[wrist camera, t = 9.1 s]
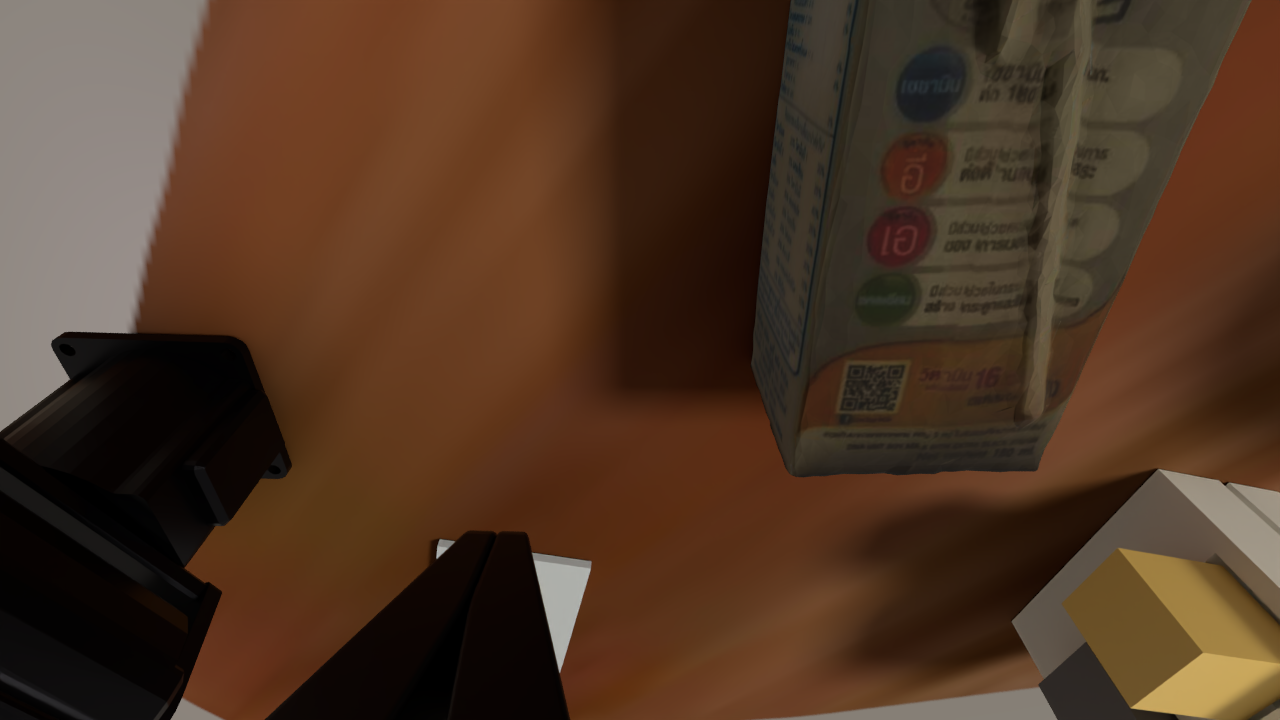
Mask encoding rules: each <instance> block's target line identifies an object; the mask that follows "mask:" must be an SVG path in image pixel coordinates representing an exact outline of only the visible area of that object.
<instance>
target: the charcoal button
mask: <svg viewBox="0 0 1280 720" xmlns="http://www.w3.org/2000/svg"><path fill="white" fill-rule="evenodd" d="M1038 685H1039V687H1040V689H1041V690H1042V692H1043V694H1044V696H1045V698H1046V699H1047V701H1048V703H1049V705H1050V707H1051V708H1052V710H1053V712H1054V714H1055V716H1056V717H1057V719H1058V720H1179V719H1178V718H1177V717H1176V715H1175V714H1171V713H1163V712H1156V711H1148V710H1140V709H1133V708H1130V707H1129V705H1128V704H1127V702H1126V701H1125V699H1124V698H1123V696H1122V695H1121V693H1120V692H1119V690H1118V689H1117V687H1116V686H1115V684H1114V683H1113V681H1112V680H1111V678H1110V677H1109V675H1108V674H1107V672H1106V671H1105V669H1104V667H1103V666H1102V664H1101V663H1100V661H1099V660H1098V658H1097V657H1096V655H1095V654H1094V652H1093V651H1092V649H1091V648H1090V646H1089V645H1088V643H1087V642H1085V643H1084V644H1083V645H1082V646H1081V647H1079V648H1078V649H1077V650H1076V651H1075V652H1074V653H1073V654H1072V655H1071V656H1069V657H1068V658H1067V659H1066V660H1065V661H1064V662H1063V663H1062V664H1061V665H1059V666H1058V667H1057V668H1056V669H1055V670H1054V671H1053V672H1052V673H1051V674H1049V675H1048V676H1047V677H1046V678H1045V679H1044V680H1043V681H1042V682H1041V683H1039V684H1038Z"/></svg>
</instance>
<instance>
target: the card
mask: <svg viewBox="0 0 1280 720" xmlns="http://www.w3.org/2000/svg"><path fill="white" fill-rule="evenodd" d="M454 542H455V541H449V540H442V539H440V540H439V543H438V546H437V557H436V559H437V558H438V557H439V556H440V555H441V554H443V553H444V552H445V551H446V550H447V549H448V548H449V547H450V546H451V545H452V544H453V543H454ZM532 554H533V559H534V563H535V568H536V572H537V576H538V581H539V585H540V589H541V594H542V598H543V603H544V607H545V611H546V616H547V620H548V625H549V629H550V633H551V638H552V642H553V646H554V651H555V655H556V660H557V664H558V668H559V673H560V671H561V667H562V664H563V661H564V657H565V654H566V651H567V647H568V644H569V640H570V637H571V634H572V630H573V627H574V624H575V620H576V617H577V614H578V610H579V607H580V603H581V600H582V597H583V593H584V590H585V587H586V583H587V580H588V577H589V573H590V570H591V561H585V560H578V559H571V558H565V557H558V556H551V555H544V554H537V553H532Z"/></svg>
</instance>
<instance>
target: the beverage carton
mask: <svg viewBox="0 0 1280 720" xmlns="http://www.w3.org/2000/svg"><path fill="white" fill-rule="evenodd" d="M1250 2H1251V0H791V3H790V11H789V20H788V28H787V36H786V44H785V53H784V62H783V71H782V80H781V88H780V94H779V101H778V107H777V117H776V125H775V133H774V142H773V151H772V160H771V170H770V179H769V187H768V195H767V203H766V212H765V222H764V232H763V241H762V251H761V261H760V271H759V281H758V290H757V303H756V318H755V326H754V332H753V356H752V362H751V368H752V371H753V374H754V377H755V381H756V384H757V386H758V388H759V390H760V394H761V397H762V401H763V404H764V407H765V410H766V413H767V416H768V418H769V420H770V427H771V429H772V432H773V435H774V437H775V440H776V443H777V446H778V449H779V451H780V453H781V456H782V459H783V462H784V465H785V468H786V469H787V471H788V472H789V473H790V474H791V475H793V476H795V477H810V476H828V475H838V474H876V473H887V474H893V475H909V474H935V473H939V472H943V471H948V472H954V471H965V470H969V471H991V472H1007V471H1036V470H1038V467H1039V463H1040V460H1041V457H1042V454H1043V452H1044V449H1045V447H1046V446H1047V444H1048V442H1049V441H1050V439H1051V437H1052V435H1053V433H1054V431H1055V429H1056V427H1057V425H1058V423H1059V421H1060V419H1061V417H1062V414H1063V412H1064V410H1065V408H1066V406H1067V404H1068V402H1069V399H1070V397H1071V395H1072V393H1073V391H1074V389H1075V386H1076V384H1077V381H1078V379H1079V377H1080V374H1081V372H1082V370H1083V367H1084V365H1085V363H1086V361H1087V359H1088V356H1089V354H1090V352H1091V350H1092V348H1093V345H1094V343H1095V341H1096V339H1097V337H1098V334H1099V332H1100V330H1101V328H1102V326H1103V324H1104V322H1105V319H1106V317H1107V315H1108V313H1109V311H1110V309H1111V307H1112V304H1113V302H1114V300H1115V298H1116V296H1117V294H1118V292H1119V290H1120V288H1121V286H1122V283H1123V281H1124V279H1125V276H1126V274H1127V272H1128V269H1129V267H1130V265H1131V262H1132V260H1133V258H1134V256H1135V253H1136V251H1137V249H1138V246H1139V244H1140V242H1141V239H1142V237H1143V235H1144V233H1145V231H1146V229H1147V227H1148V225H1149V223H1150V221H1151V219H1152V217H1153V214H1154V212H1155V209H1156V206H1157V204H1158V201H1159V199H1160V197H1161V195H1162V193H1163V191H1164V189H1165V187H1166V185H1167V183H1168V181H1169V179H1170V177H1171V174H1172V172H1173V169H1174V167H1175V164H1176V162H1177V160H1178V157H1179V155H1180V152H1181V150H1182V148H1183V146H1184V144H1185V141H1186V139H1187V137H1188V135H1189V133H1190V131H1191V129H1192V126H1193V124H1194V122H1195V120H1196V118H1197V116H1198V114H1199V111H1200V110H1201V108H1202V106H1203V104H1204V102H1205V100H1206V98H1207V96H1208V94H1209V92H1210V90H1211V88H1212V86H1213V84H1214V82H1215V79H1216V76H1217V74H1218V71H1219V68H1220V66H1221V63H1222V61H1223V59H1224V56H1225V54H1226V52H1227V50H1228V48H1229V46H1230V44H1231V42H1232V40H1233V38H1234V36H1235V34H1236V32H1237V30H1238V28H1239V26H1240V23H1241V21H1242V19H1243V17H1244V15H1245V13H1246V11H1247V9H1248V7H1249V4H1250Z"/></svg>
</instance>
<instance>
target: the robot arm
mask: <svg viewBox="0 0 1280 720" xmlns="http://www.w3.org/2000/svg"><path fill="white" fill-rule="evenodd" d="M51 346H52V348H53V351H54V352H55V354H56V356H57V357H58V359H59V361H60V363H61V364H62V366H63V368H64V369H65V371H66V373H67V374H68V376H69V378H70V380H69V381H68V382H66V383H65V384H64V385H62V386H61V387H60V388H58V389H57V390H56V391H54V392H53V393H52V394H50V395H49V396H48V397H46V398H45V399H44V400H42V401H41V402H40V403H38V404H37V405H35V406H34V407H33V408H32V409H30V410H29V411H27V412H26V413H25V414H23V415H22V416H21V417H19V418H18V419H17V420H15V421H14V422H13V423H11V424H10V425H9V426H7V427H6V428H5V429H3V430H2V431H1V432H0V720H170V719H171V718H172V716H173V714H174V713H175V711H176V709H177V707H178V705H179V703H180V701H181V699H182V696H183V694H184V691H185V689H186V686H187V683H188V681H189V678H190V675H191V673H192V670H193V668H194V665H195V662H196V660H197V657H198V655H199V652H200V649H201V647H202V644H203V642H204V639H205V636H206V634H207V631H208V628H209V626H210V623H211V621H212V618H213V615H214V613H215V610H216V608H217V605H218V602H219V600H220V597H221V594H222V591H221V590H219V589H218V588H217V587H215V586H214V585H212V584H211V583H210V582H206V583H204V582H203V581H201V580H200V579H198V578H197V577H196V576H194V575H193V574H191V573H190V572H189V571H187V570H186V569H184V568H185V567H186V565H187V564H188V563H189V561H190V560H191V558H192V557H193V556H194V554H195V553H196V552H197V550H198V549H199V548H200V546H201V545H202V544H203V542H204V541H205V540H206V538H207V537H208V535H209V534H210V533H211V531H212V530H213V529H214V527H215V526H225V525H226V524H227V523H228V522H229V521H230V520H231V519H232V518H233V516H234V515H235V514H236V512H237V511H238V509H239V508H240V507H241V505H242V504H243V503H244V501H245V500H246V498H247V497H248V496H249V494H250V493H251V491H252V490H253V489H254V487H255V486H256V484H257V483H258V482H259V480H260V479H261V478H267V479H280V478H283V477H285V476H286V475H287V473H288V472H289V470H290V469H291V467H292V464H291V461H290V458H289V455H288V453H287V450H286V447H285V442H284V440H283V437H282V434H281V432H280V429H279V426H278V424H277V421H276V418H275V416H274V413H273V410H272V408H271V405H270V402H269V399H268V397H267V395H266V394H265V391H264V389H263V386H262V383H261V381H260V378H259V375H258V373H257V370H256V367H255V365H254V362H253V359H252V357H251V354H250V351H249V349H248V347H247V346H246V344H245V343H244V342H242V341H241V340H239V339H237V338H234V337H225V336H192V335H159V334H127V333H93V332H92V333H91V332H65V333H63V334H61V335H60V336H58V337H57V338H55V339H54V340H53V341H52V343H51ZM228 349H230V350H231V351H233V352H234V353H235V354H232V353H231V352H229V351H228ZM265 720H570V717H569V712H568V708H567V703H566V699H565V695H564V690H563V686H562V681H561V677H560V673H559V668H558V664H557V660H556V655H555V651H554V646H553V642H552V638H551V633H550V629H549V625H548V620H547V616H546V611H545V607H544V603H543V598H542V594H541V589H540V585H539V581H538V576H537V572H536V568H535V563H534V559H533V554H532V550H531V546H530V541H529V537H528V535H527V533H525V532H514V531H501V532H499V533H498V534H496V533H495V532H494V531H467V532H466V533H464V534H463V535H462V536H461V537H460V538H459V539H457V540H456V541H455V542H454V543H453V544H452V545H451V546H450V547H449V548H448V549H447V550H446V551H445V552H444V553H443V554H441V555H440V556H439V557H438V558H437V559H436V560H435V561H434V562H433V563H432V564H431V565H430V566H429V567H428V568H426V569H425V570H424V571H423V572H422V573H421V574H420V575H419V576H418V577H417V578H416V579H415V580H414V581H413V582H411V583H410V584H409V585H408V586H407V587H406V588H405V589H404V590H403V591H402V592H401V593H400V594H399V595H398V596H397V597H395V598H394V599H393V600H392V601H391V602H390V603H389V604H388V605H387V606H386V607H385V608H384V609H383V610H382V611H380V612H379V613H378V614H377V615H376V616H375V617H374V618H373V619H372V620H371V621H370V622H369V623H368V624H367V625H366V626H364V627H363V628H362V629H361V630H360V631H359V632H358V633H357V634H356V635H355V636H354V637H353V638H352V639H351V640H349V641H348V642H347V643H346V644H345V645H344V646H343V647H342V648H341V649H340V650H339V651H338V652H337V653H336V654H334V655H333V656H332V657H331V658H330V659H329V660H328V661H327V662H326V663H325V664H324V665H323V666H322V667H321V668H320V669H318V670H317V671H316V672H315V673H314V674H313V675H312V676H311V677H310V678H309V679H308V680H307V681H306V682H305V683H303V684H302V685H301V686H300V687H299V688H298V689H297V690H296V691H295V692H294V693H293V694H292V695H291V696H290V697H288V698H287V699H286V700H285V701H284V702H283V703H282V704H281V705H280V706H279V707H278V708H277V709H276V710H275V711H274V712H272V713H271V714H270V715H269V716H268V717H267V718H266V719H265Z"/></svg>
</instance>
